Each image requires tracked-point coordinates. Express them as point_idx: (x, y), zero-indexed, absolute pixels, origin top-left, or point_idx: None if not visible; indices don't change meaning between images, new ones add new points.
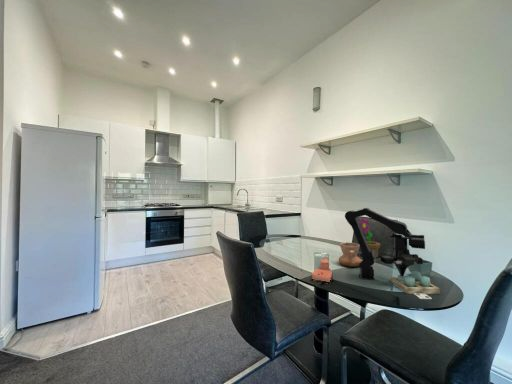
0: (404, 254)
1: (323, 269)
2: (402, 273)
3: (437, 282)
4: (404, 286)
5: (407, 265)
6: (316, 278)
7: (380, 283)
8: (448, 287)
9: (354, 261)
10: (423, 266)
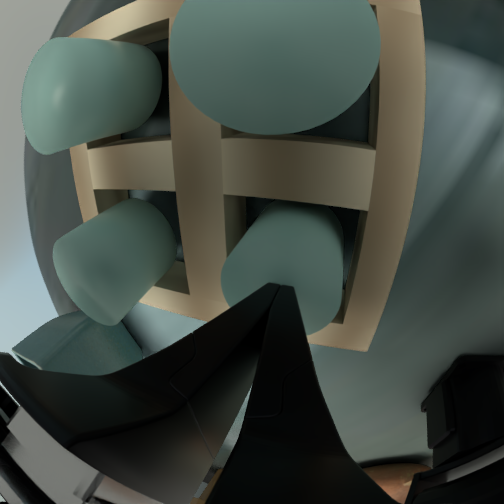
0: None
1: None
2: (271, 310)
3: None
4: (414, 25)
5: (60, 400)
6: None
7: (489, 281)
8: (37, 171)
9: (401, 487)
10: (43, 347)
